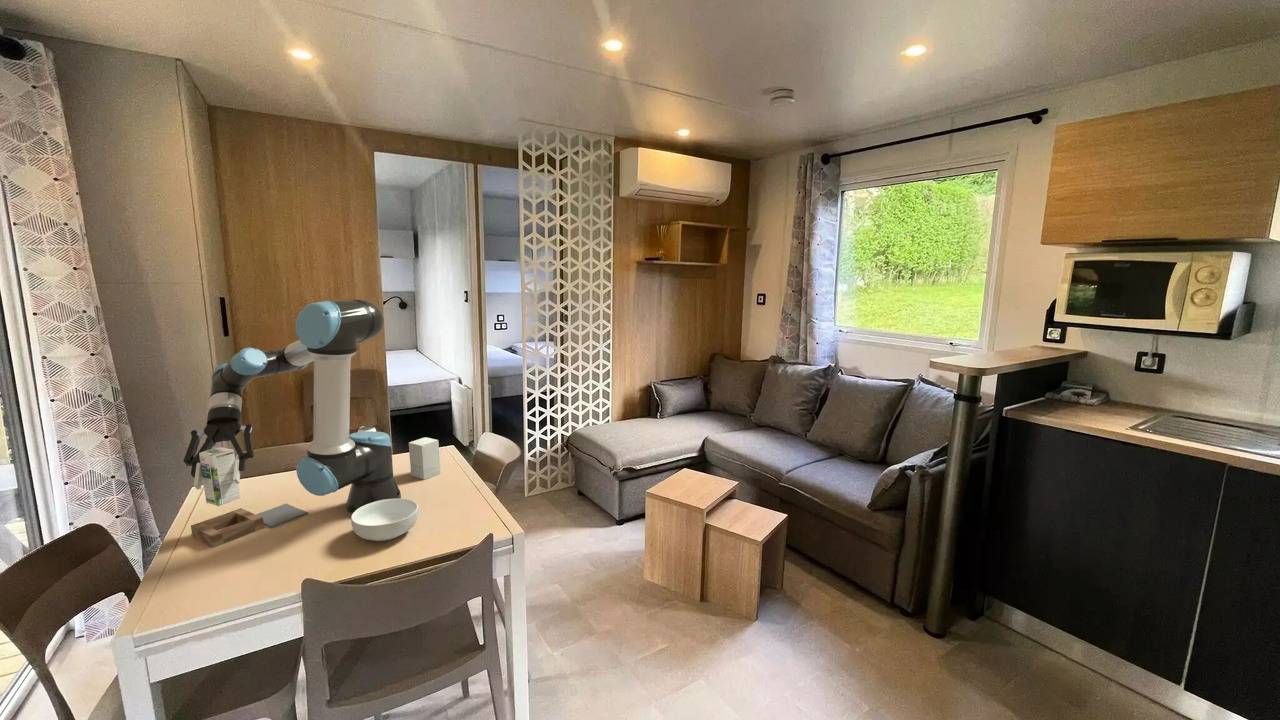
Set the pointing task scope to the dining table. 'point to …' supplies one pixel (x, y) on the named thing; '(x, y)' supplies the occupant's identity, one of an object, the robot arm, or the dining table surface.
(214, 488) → the syrup box
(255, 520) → the pocket
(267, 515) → the mat
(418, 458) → the supplement box
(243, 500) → the dining table surface
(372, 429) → the can
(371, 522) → the cereal bowl
